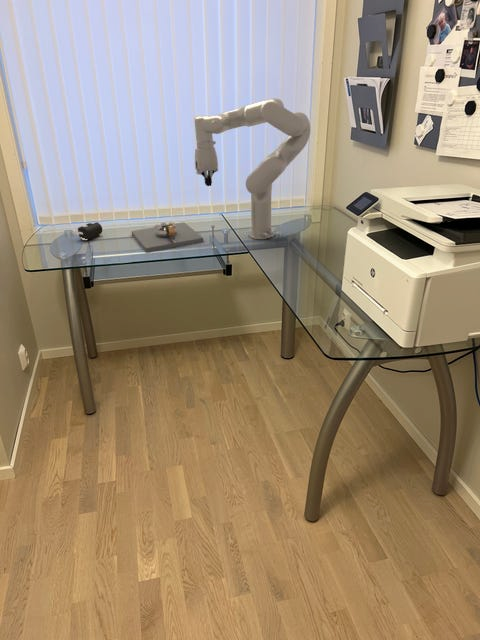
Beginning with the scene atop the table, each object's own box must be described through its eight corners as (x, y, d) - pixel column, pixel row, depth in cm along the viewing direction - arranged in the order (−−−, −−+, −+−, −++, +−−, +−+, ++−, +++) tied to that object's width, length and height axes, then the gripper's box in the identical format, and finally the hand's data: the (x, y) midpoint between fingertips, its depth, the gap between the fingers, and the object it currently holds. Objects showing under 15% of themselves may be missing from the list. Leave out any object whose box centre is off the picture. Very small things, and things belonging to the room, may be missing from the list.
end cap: (90, 242, 229) (87, 228, 226) (79, 240, 232) (76, 227, 229) (103, 235, 237) (101, 222, 234) (93, 234, 240) (90, 221, 237)
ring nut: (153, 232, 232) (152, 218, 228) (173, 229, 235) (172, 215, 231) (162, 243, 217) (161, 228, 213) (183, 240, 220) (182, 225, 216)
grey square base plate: (203, 241, 224) (203, 237, 223) (146, 252, 214) (145, 247, 213) (184, 225, 246) (184, 221, 245) (131, 234, 236) (131, 230, 235)
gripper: (216, 142, 221) (219, 181, 230) (186, 146, 215) (191, 186, 224) (223, 143, 215) (226, 184, 224) (193, 148, 209) (197, 189, 218)
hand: (208, 185), depth 224 cm, fingers closed
